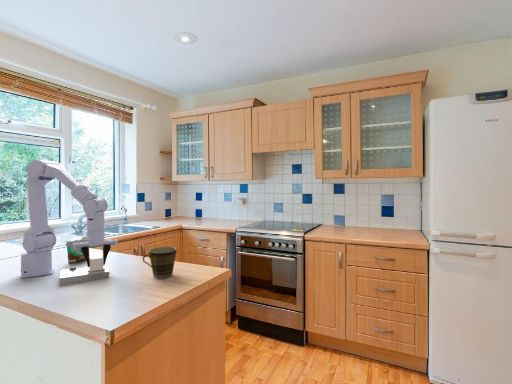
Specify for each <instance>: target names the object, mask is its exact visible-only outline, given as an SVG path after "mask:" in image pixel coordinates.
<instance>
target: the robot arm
mask: <svg viewBox="0 0 512 384" xmlns="http://www.w3.org/2000/svg"><path fill="white" fill-rule="evenodd" d="M26 172H27V179H26V188H27V189H26V190H27V199H28V211H29V212H28V213H29V224H30V227H28V229H26V230H25V231H24V232H23V239H22V242H21V243H22V244H21V245H22V247H23V249H24V250H25V252H22V253H21V255H20V279H24V278H31V277H40V276H46V275H52V274H53V273H54V270H55V268H53V267H52V265H53V263H52V262H53V261H52V259H53V258H52V257H53V256H52V252H53V251H52V250H53V249H54V246H55V245H56V243H57V236H56V235H55V231H54V228H53V227H51V226H50V225H49V220H48V207H47V196H46V195H47V193H46V185H47V184H48V183H49V182H51V181H53V180H55V179H56V180H57V181H59V182H60V183H61V184H62V185H64V186H65V188H68V189H69V190H70V194H71V196H72V197H73V199H75V200H76V201H77V202H78V203H80V204H81V205H82V210H83V212H84V214H85V218H86V227H87V228H86V234H87V235H86V237H87V242H80V243H73V249H78V248H81V251H82V253H83V255H84V257H85V259H86V261H85V262H86V265H87V266H88V268H89V267H90V262H89V256H90V248H98V247H102V255H103V266H104V265H105V264H106V262H107V258H108V254H109V253H110V251H111V248H112V246H118V244H119V242H118V240H119V239H105V238H106V237H105V212H106V211H107V209H108V204H109V203H108V202H107V200H106V199H105V198H104V197H99V196H98V195H97V194H96V193H94V192H93V191H92V190H91V189H89V186H88V185H86V184H83V183H82V184H80V183H78V181H76V180H75V178H74V177H72V175H71V174H70V173H69V172H68V171H67V170H66V167H65V166H64V165H63V164H61V163H60V162H59V161H55V160H54V161H51V160H43V159H36V158H35V159H32V160H31V161H30V162H29V163H28V164H27V165H26ZM87 266H86V267H87Z"/></svg>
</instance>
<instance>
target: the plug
mask: <svg viewBox="0 0 512 384" xmlns="http://www.w3.org/2000/svg"><path fill="white" fill-rule="evenodd" d="M89 262H90V267H89V269H90V272H93V271H98V270H100V271H101V270H104V266H103V254H99V255H89Z"/></svg>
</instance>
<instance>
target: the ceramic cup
mask: <svg viewBox="0 0 512 384" xmlns="http://www.w3.org/2000/svg"><path fill="white" fill-rule="evenodd" d="M146 257H149V261H150V263H149V262H146V261H145V258H146ZM176 257H177V248H176V247H173V246H161V247H160V246H159V247H153V248H151V249H149V250H148V254H147V253H146V254H144V255H143V257H142V262H143V263H145V264H146V265H147V266H149V267H150V268H151V269H152V276H153V278H154V279H158V280H160V279H162V280H164V279H168V278H171V277H172V276H173V273H174V266H175V260H176Z"/></svg>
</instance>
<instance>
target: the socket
mask: <svg viewBox="0 0 512 384" xmlns="http://www.w3.org/2000/svg"><path fill="white" fill-rule="evenodd" d="M109 278H110V271H109V268H108V265H107V264H106V263H105V265H104V270H101V271H100V270H98V271H93V272H90V269H89V268H88V266H82V267H81V266H80V267H76V266H73V267H69V268H67V269H66V268H64V269H61V270H60V274H59V286H65V285H72V284H79V283H80V284H81V283H86V282H92V281H98V280H99V281H100V280H105V279H109Z"/></svg>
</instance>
